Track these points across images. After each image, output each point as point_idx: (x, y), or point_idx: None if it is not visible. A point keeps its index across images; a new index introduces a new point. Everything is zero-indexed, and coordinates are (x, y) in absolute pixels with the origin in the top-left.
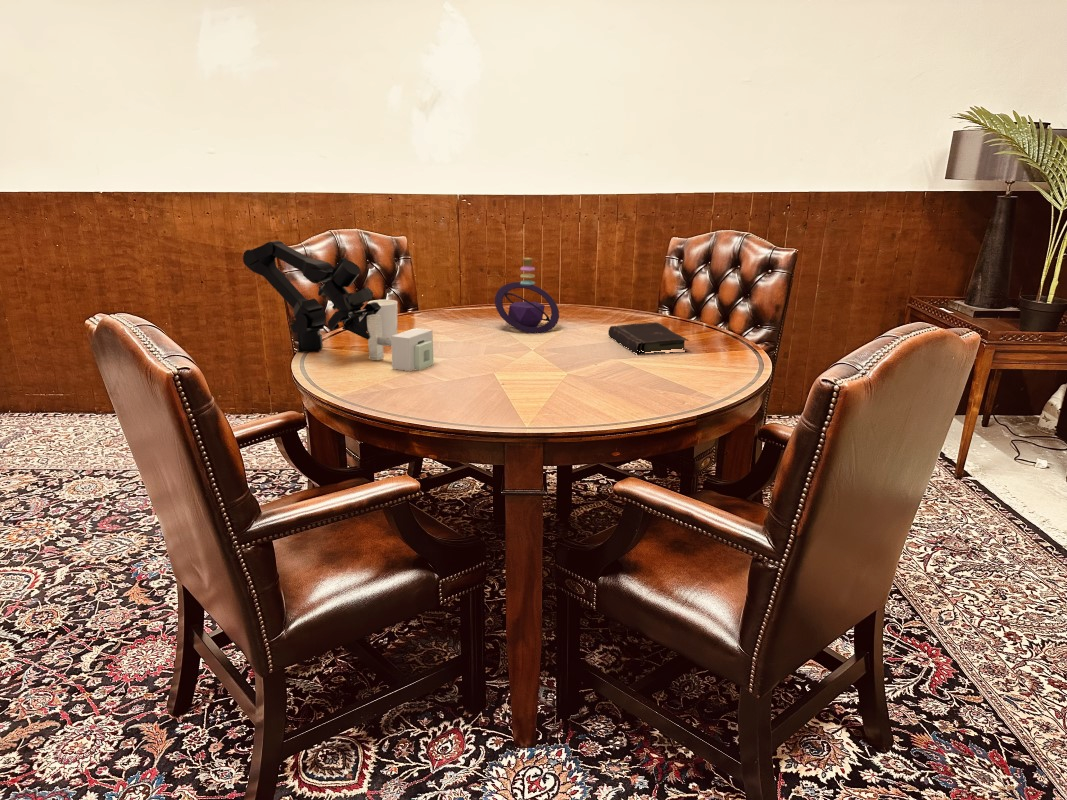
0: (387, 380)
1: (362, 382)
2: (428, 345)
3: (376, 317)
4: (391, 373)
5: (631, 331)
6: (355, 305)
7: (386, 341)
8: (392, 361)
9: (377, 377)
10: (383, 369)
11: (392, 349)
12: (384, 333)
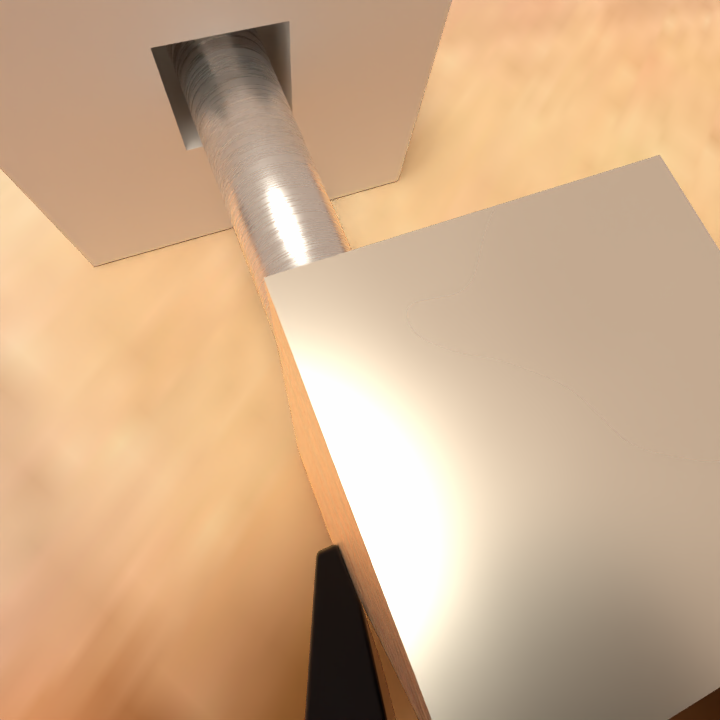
0: (540, 30)
1: (667, 86)
2: None
3: (559, 202)
4: (456, 111)
5: None
6: None
7: (350, 249)
8: (407, 140)
9: (562, 103)
10: (451, 212)
11: (430, 46)
12: None
